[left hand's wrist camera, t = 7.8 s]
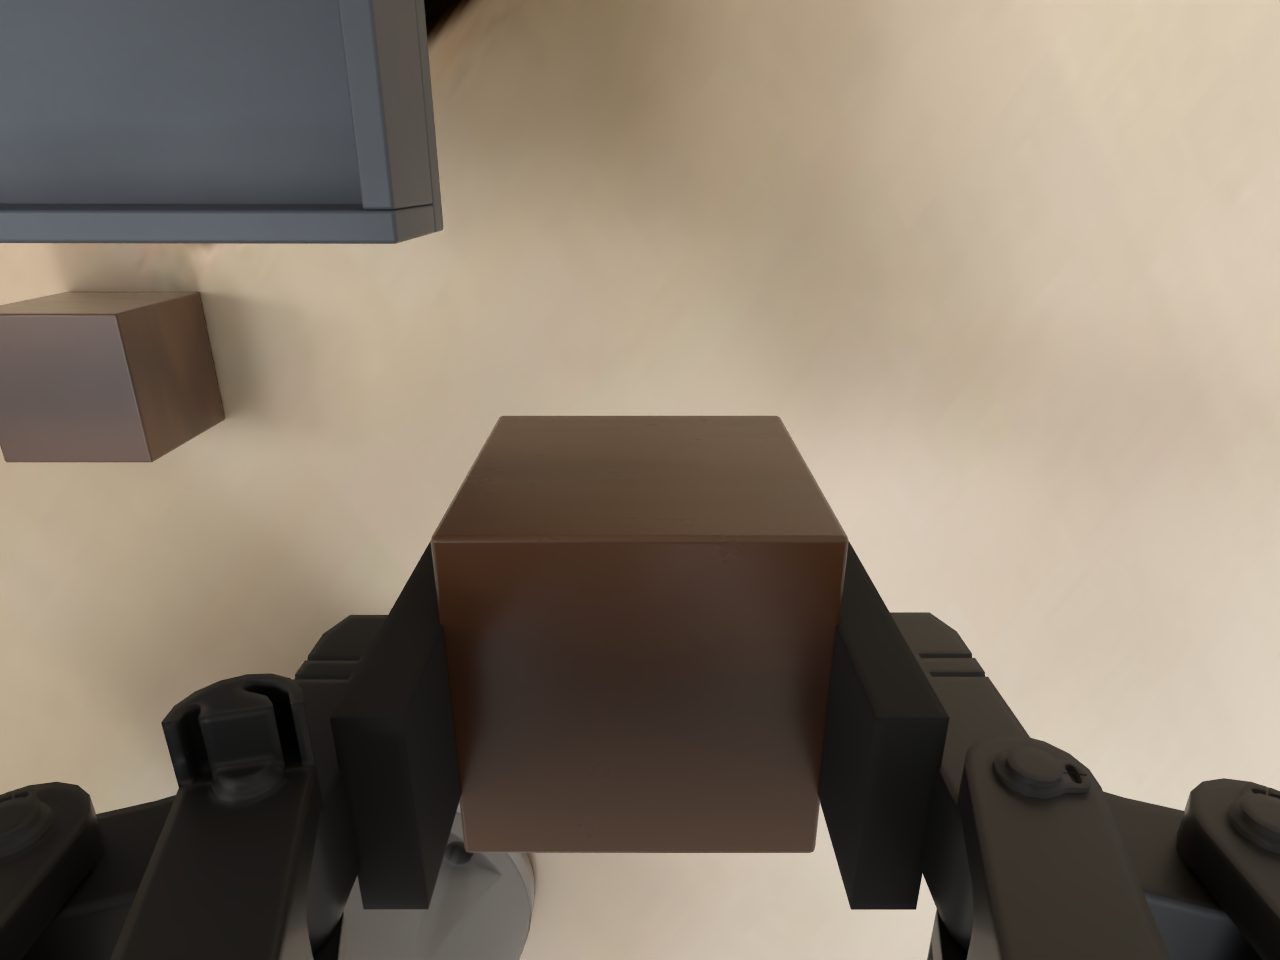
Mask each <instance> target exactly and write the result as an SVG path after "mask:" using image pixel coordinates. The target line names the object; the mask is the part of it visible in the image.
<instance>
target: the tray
mask: <svg viewBox="0 0 1280 960" xmlns="http://www.w3.org/2000/svg"><path fill="white" fill-rule="evenodd" d="M441 230H443V218H442V207H441V195H440V183H439V172H438V160H437V148H436V137H435V125H434V113H433V102H432V90H431V78H430V67H429V55H428V43H427V32H426V20H425V8H424V0H0V243H340V244H395V243H399V242H402V241H406V240H409V239H413V238H416V237H420V236H423V235H427V234H430V233H434V232H438V231H441Z"/></svg>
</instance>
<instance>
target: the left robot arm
mask: <svg viewBox="0 0 1280 960" xmlns="http://www.w3.org/2000/svg"><path fill="white" fill-rule="evenodd" d="M161 723H162V727H163V730H164V734H165V738H166V742H167V745H168V749H169V753H170V756H171V760H172V764H173V767H174V771H175V775H176V778H177V782H178V786H179V790H178V792H177V795H175V796H171V797H168V798H164V799H161V800H158V801H154V802H149V803H145V804H140V805H136V806H131V807H127V808H122V809H118V810H114V811H109V812H105V813H100V814H96V813H95V810H94V807H93V804H92V801H91V798H90V795H89V794H88V793H86V792H85V791H84V790H83V789H82V788H80V787H79V786H78V785H73V784H67V783H61V782H52V783H45V784H37V785H29V786H26V787H23V788H20V789H16V790H14V791H10V792H7V793H5V794H2V795H0V960H519V958H520V956H521V954H522V951H523V948H524V944H525V942H526V940H527V936H528V933H529V929H530V922H531V916H532V909H533V902H534V894H535V883H534V875H533V870H532V866H531V862H530V859H529V857H528V854H527V853H469V852H466V850H465V847H464V839H463V829H462V820H461V811H460V802H459V801H460V798H461V788H460V779H459V770H458V760H457V751H456V742H455V733H454V724H453V714H452V705H451V696H450V687H449V677H448V668H447V659H446V650H445V641H444V631H443V625H440V620H439V611H438V602H437V593H436V584H435V575H434V566H433V557H432V548H431V541H430V543H429V545H428V547H427V548H426V550H425V552H424V554H423V555H422V557H421V559H420V561H419V562H418V564H417V566H416V568H415V569H414V571H413V573H412V575H411V576H410V578H409V580H408V582H407V583H406V585H405V587H404V589H403V590H402V592H401V594H400V596H399V597H398V599H397V601H396V603H395V604H394V606H393V608H392V610H391V611H390V613H389V615H350V616H348V617H347V618H345V619H344V620H343V621H341V622H340V623H338V624H337V625H335V626H334V627H333V628H331V629H330V630H328V631H327V632H326V633H324V634H323V635H322V637H321V638H320V640H319V641H318V642H317V644H316V645H315V647H314V648H313V650H312V651H311V653H310V654H309V655H308V661H304V663H303V664H302V666H301V667H300V669H299V670H298V671H297V673H296V674H295V680H291V679H290V678H286V677H282V676H278V675H274V674H248V675H243V676H239V677H234V678H230V679H226V680H221V681H219V682H216V683H214V684H212V685H210V686H207V687H205V688H203V689H200V690H198V691H196V692H194V693H193V694H191V695H190V696H188V697H187V698H185V699H184V700H183V701H181V702H180V703H178V704H177V705H175V706H174V707H173V709H172V710H171V711H170V712H169V714H168V715H167V716H166V717H165V719H164V720H163V721H162V722H161ZM818 796H819V800H820V803H821V807H822V810H823V814H824V817H825V820H826V824H827V827H828V831H829V834H830V838H831V841H832V845H833V848H834V852H835V855H836V859H837V862H838V866H839V869H840V873H841V876H842V880H843V883H844V887H845V890H846V894H847V897H848V900H849V904H850V907H851V909H916V906H917V901H918V895H919V889H920V883H921V878H922V873H923V875H924V878H925V880H926V882H927V885H928V887H929V890H930V892H931V895H932V897H933V900H934V902H935V905H936V907H937V911H936V916H935V921H934V926H933V932H932V937H931V942H930V948H929V953H928V958H927V960H1280V791H1277V790H1275V789H1272V788H1268V787H1266V786H1262V785H1259V784H1256V783H1253V782H1247V781H1239V780H1232V779H1224V778H1223V779H1217V780H1211V781H1204V782H1202V783H1200V784H1199V785H1198V786H1197V787H1196V788H1195V789H1193V790H1192V791H1191V792H1190V795H1189V799H1188V802H1187V805H1186V808H1185V811H1181V810H1177V809H1172V808H1168V807H1163V806H1159V805H1154V804H1150V803H1145V802H1141V801H1136V800H1132V799H1127V798H1123V797H1120V796H1116V795H1113V794H1110V793H1106V792H1103V791H1102V788H1101V786H1100V785H1099V783H1098V782H1097V780H1096V779H1095V778H1094V776H1093V775H1092V773H1091V772H1090V770H1089V769H1088V768H1087V767H1085V766H1084V765H1083V764H1082V763H1080V762H1079V761H1078V760H1077V759H1075V758H1074V757H1073V756H1072V755H1070V754H1069V753H1067V752H1065V751H1063V750H1061V749H1059V748H1057V747H1055V746H1052V745H1050V744H1048V743H1046V742H1044V741H1040V740H1036V739H1032V738H1030V737H1029V735H1028V734H1027V732H1026V731H1025V729H1024V728H1023V727H1022V725H1021V724H1020V722H1019V721H1018V719H1017V718H1016V716H1015V715H1014V714H1013V712H1012V711H1011V709H1010V708H1009V706H1008V705H1007V704H1006V702H1005V701H1004V699H1003V698H1002V696H1001V695H1000V693H999V692H998V691H997V689H996V688H995V686H994V685H993V683H992V682H991V680H990V679H989V678H988V677H985V672H984V670H983V669H982V668H981V666H980V665H979V663H978V662H977V660H976V659H975V658H972V653H971V652H970V650H969V649H968V647H967V646H966V644H965V643H964V642H963V640H962V639H961V637H960V636H959V634H958V633H957V632H956V631H955V630H954V629H952V628H951V627H949V626H948V625H946V624H945V623H944V622H942V621H941V620H939V619H938V618H936V617H935V616H934V615H932V614H931V613H890V612H889V611H888V609H887V607H886V605H885V604H884V602H883V600H882V598H881V597H880V595H879V593H878V591H877V590H876V588H875V586H874V584H873V583H872V581H871V579H870V577H869V576H868V574H867V572H866V570H865V569H864V567H863V565H862V563H861V562H860V560H859V558H858V556H857V555H856V553H855V551H854V549H853V548H852V546H851V544H850V542H849V541H848V550H847V559H846V568H845V577H844V587H843V596H842V605H841V614H840V623H839V625H836V634H835V644H834V653H833V662H832V671H831V681H830V690H829V699H828V708H827V718H826V727H825V736H824V745H823V755H822V764H821V773H820V782H819V792H818Z"/></svg>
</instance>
